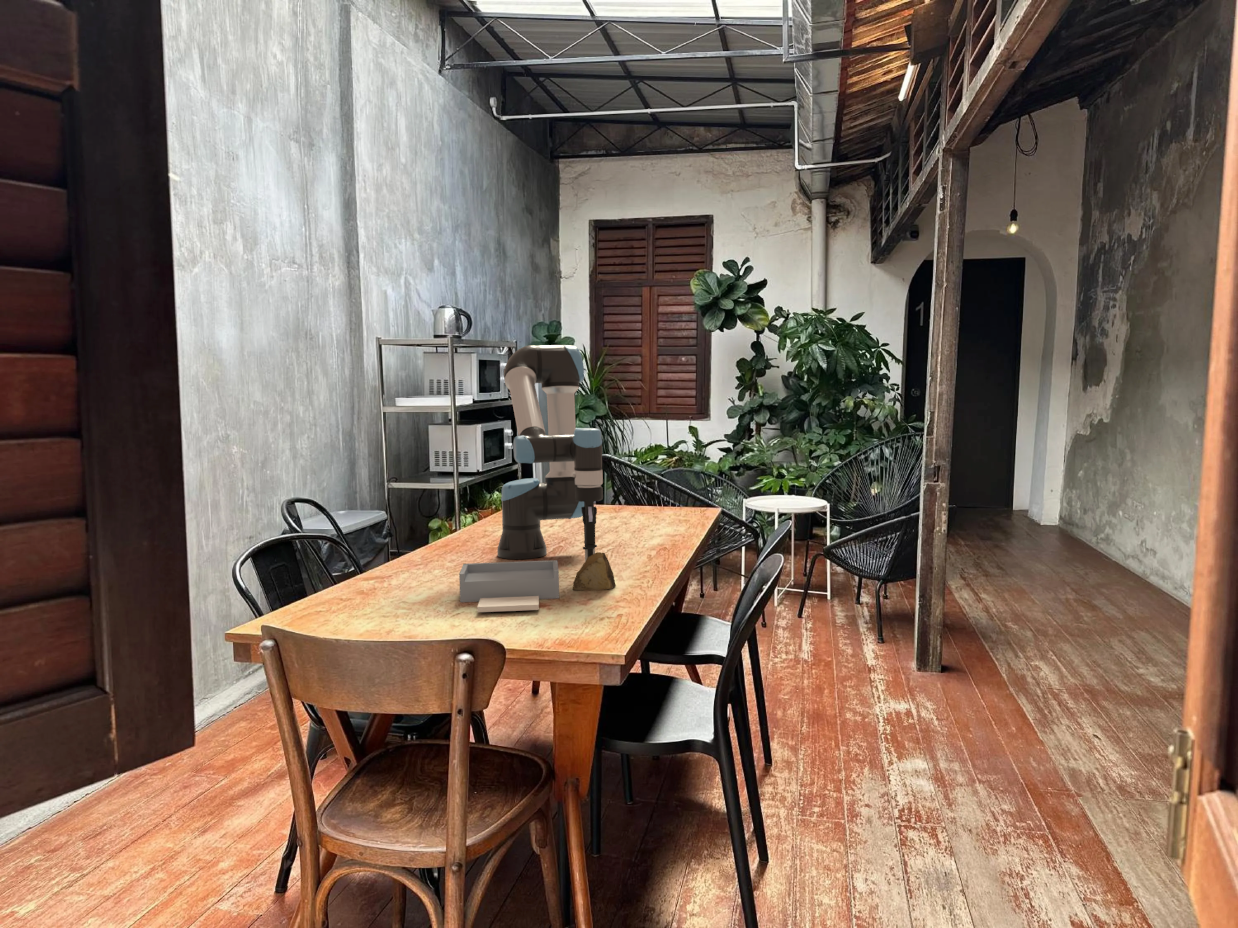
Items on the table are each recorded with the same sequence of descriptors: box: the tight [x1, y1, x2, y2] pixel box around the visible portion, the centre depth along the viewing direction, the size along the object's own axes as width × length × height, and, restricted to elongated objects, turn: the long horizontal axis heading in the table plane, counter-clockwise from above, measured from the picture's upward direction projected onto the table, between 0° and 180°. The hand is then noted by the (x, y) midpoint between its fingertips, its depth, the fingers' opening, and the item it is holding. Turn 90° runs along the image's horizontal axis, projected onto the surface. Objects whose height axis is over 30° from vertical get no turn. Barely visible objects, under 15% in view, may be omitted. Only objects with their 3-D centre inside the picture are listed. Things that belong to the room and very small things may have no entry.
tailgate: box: [476, 596, 540, 613], centre depth 199 cm, size 1×14×11 cm
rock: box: [572, 551, 617, 591], centre depth 218 cm, size 11×9×10 cm
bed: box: [458, 559, 560, 603], centre depth 212 cm, size 12×24×7 cm, turn 96°
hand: (590, 572), depth 230 cm, fingers closed
